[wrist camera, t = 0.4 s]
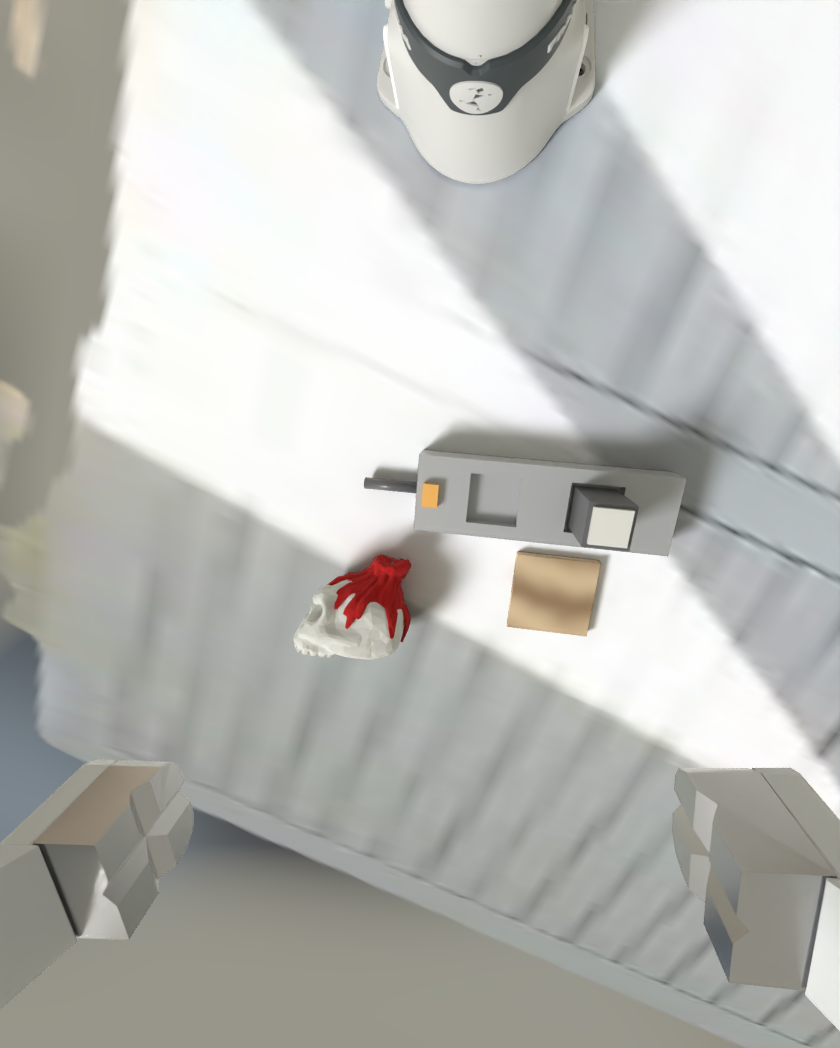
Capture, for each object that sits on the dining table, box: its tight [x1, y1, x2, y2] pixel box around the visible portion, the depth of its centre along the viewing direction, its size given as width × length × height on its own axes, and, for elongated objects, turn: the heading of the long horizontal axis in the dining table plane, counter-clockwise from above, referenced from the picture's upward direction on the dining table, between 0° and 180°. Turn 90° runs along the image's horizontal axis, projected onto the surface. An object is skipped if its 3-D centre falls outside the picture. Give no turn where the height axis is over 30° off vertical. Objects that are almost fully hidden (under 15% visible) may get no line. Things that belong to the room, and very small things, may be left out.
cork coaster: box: [507, 552, 601, 636], centre depth 53 cm, size 9×9×1 cm
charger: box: [567, 485, 639, 552], centre depth 44 cm, size 4×4×7 cm
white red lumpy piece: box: [294, 554, 411, 659], centre depth 52 cm, size 9×11×15 cm
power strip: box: [364, 450, 687, 556], centre depth 49 cm, size 8×32×4 cm, turn 86°
